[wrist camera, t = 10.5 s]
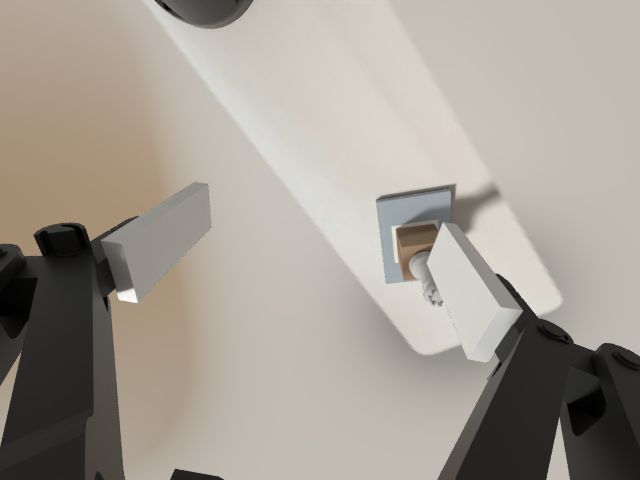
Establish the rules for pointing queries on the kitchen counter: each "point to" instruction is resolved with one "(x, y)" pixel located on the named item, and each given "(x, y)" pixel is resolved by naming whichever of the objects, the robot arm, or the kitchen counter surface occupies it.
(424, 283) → the rook chess piece
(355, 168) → the kitchen counter surface
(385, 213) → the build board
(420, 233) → the walnut cube
